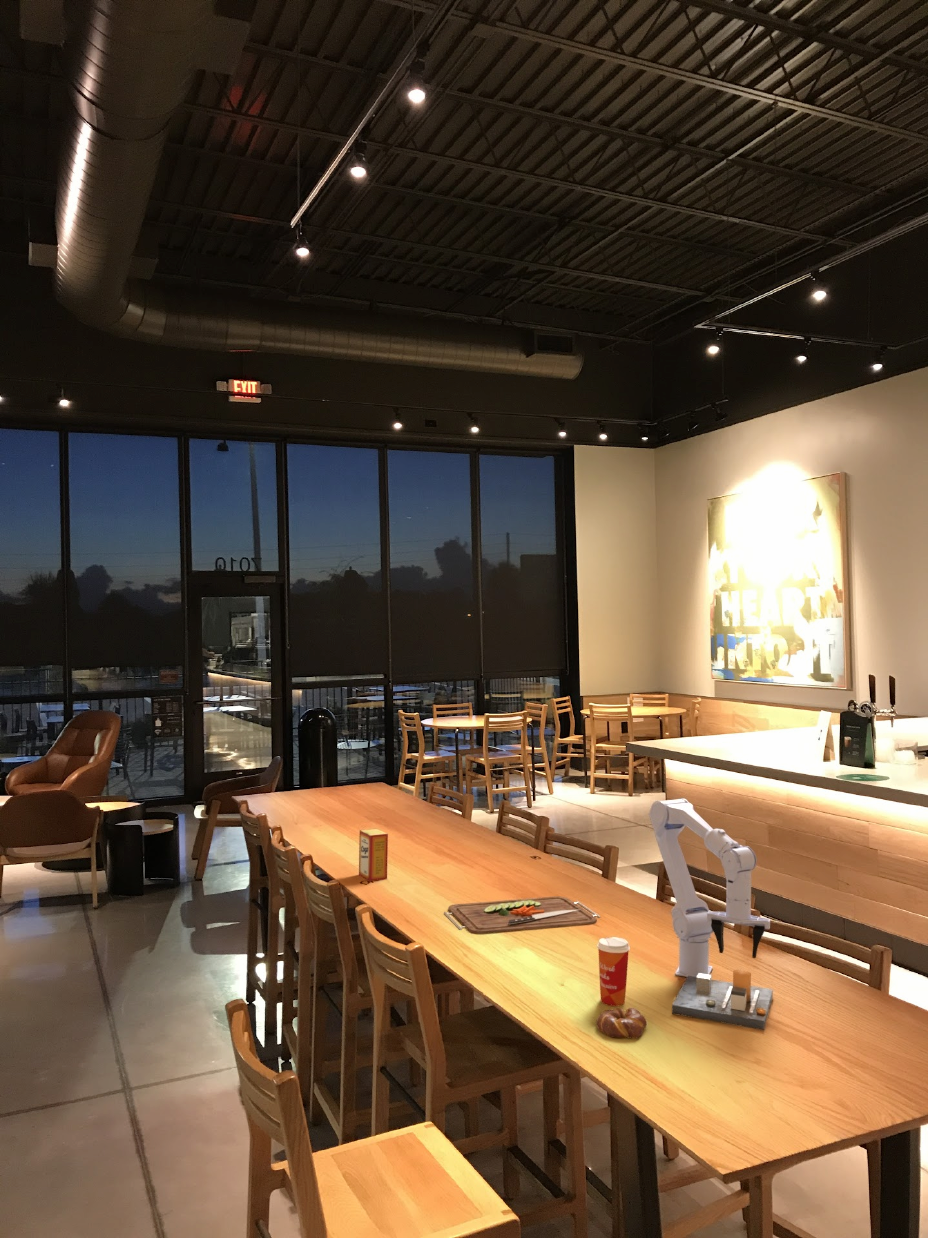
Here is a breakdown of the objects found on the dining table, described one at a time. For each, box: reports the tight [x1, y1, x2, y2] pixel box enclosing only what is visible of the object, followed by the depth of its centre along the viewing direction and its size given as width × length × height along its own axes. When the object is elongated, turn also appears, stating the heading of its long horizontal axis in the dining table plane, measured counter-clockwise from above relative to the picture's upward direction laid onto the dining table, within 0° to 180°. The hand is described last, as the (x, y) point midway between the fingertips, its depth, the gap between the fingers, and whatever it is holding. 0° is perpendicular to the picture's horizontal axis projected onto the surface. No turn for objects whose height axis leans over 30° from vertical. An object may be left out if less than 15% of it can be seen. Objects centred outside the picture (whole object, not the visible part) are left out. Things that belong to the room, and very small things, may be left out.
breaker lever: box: [731, 986, 746, 1011], centre depth 211 cm, size 3×3×4 cm
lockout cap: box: [732, 968, 752, 1002], centre depth 216 cm, size 4×4×6 cm
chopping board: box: [443, 896, 601, 935], centre depth 284 cm, size 45×27×3 cm, turn 108°
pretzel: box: [596, 1007, 648, 1039], centre depth 204 cm, size 12×11×4 cm
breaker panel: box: [671, 973, 774, 1031], centre depth 217 cm, size 20×20×5 cm
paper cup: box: [596, 936, 631, 1007], centre depth 219 cm, size 8×8×14 cm
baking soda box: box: [358, 828, 389, 882], centre depth 325 cm, size 10×6×16 cm
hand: (737, 954), depth 225 cm, fingers open, 7 cm apart
